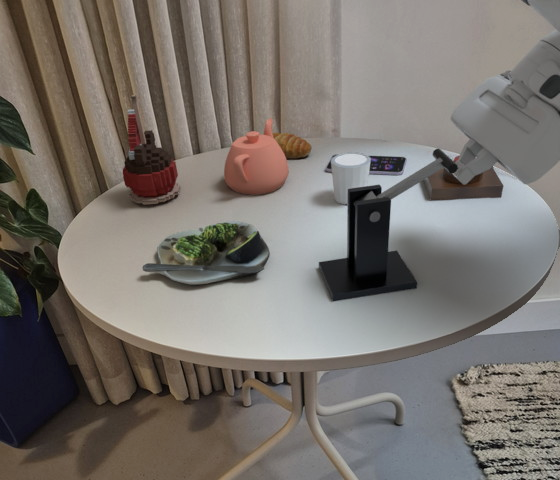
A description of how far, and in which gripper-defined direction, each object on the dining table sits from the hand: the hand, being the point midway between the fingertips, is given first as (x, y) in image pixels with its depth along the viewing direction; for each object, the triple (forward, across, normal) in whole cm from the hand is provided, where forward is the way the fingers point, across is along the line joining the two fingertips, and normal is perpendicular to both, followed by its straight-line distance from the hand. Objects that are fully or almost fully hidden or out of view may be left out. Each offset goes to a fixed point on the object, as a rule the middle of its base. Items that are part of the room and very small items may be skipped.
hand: (456, 177), depth 76 cm
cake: (+39, -38, -21) cm, 58 cm away
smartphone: (+10, -39, +9) cm, 41 cm away
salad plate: (+32, -11, -14) cm, 37 cm away
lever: (+5, +1, -4) cm, 7 cm away
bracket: (+18, +1, +1) cm, 18 cm away
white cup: (+15, -26, +4) cm, 30 cm away
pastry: (+20, -51, -1) cm, 55 cm away
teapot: (+25, -38, -6) cm, 46 cm away
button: (-2, -24, +15) cm, 28 cm away
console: (+1, -24, +18) cm, 30 cm away
